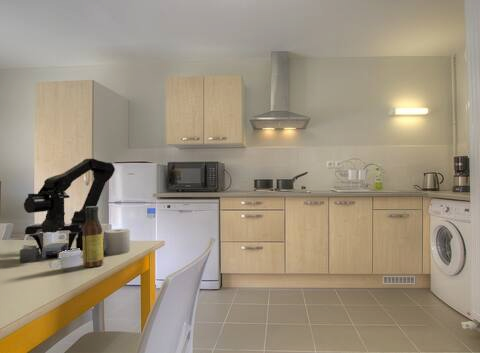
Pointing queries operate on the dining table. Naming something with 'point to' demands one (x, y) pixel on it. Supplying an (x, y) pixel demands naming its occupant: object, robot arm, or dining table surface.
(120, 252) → the toilet tissue
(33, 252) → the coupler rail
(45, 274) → the dining table surface
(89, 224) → the sauce bottle
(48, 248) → the block
